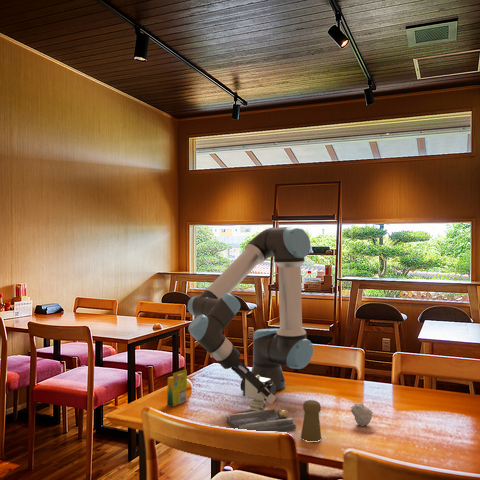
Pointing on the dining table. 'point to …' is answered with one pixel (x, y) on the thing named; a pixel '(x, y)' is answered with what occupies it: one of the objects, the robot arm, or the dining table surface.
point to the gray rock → (361, 414)
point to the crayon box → (177, 388)
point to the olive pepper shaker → (311, 421)
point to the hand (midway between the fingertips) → (266, 396)
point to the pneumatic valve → (252, 392)
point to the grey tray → (262, 420)
